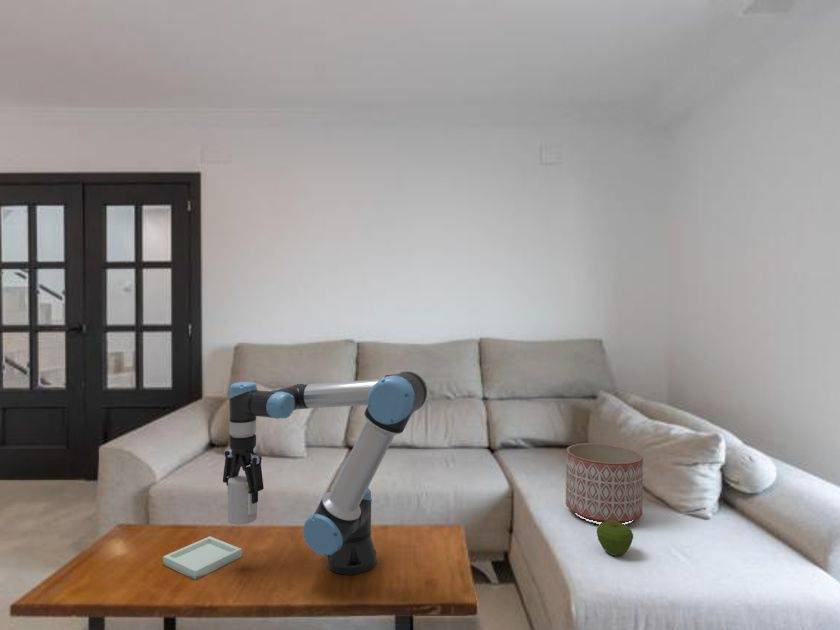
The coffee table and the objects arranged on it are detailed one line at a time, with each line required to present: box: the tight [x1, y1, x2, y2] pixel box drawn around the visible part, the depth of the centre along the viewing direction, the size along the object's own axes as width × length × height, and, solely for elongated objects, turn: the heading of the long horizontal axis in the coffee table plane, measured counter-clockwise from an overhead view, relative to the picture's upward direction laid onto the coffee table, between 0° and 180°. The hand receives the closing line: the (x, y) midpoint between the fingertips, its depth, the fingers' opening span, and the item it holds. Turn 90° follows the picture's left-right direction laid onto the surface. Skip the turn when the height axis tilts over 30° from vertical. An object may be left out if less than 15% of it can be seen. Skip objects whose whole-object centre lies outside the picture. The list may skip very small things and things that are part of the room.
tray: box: [162, 535, 243, 581], centre depth 155 cm, size 16×16×2 cm
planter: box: [565, 442, 644, 523], centre depth 192 cm, size 27×27×24 cm
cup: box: [227, 474, 258, 526], centre depth 151 cm, size 8×8×12 cm
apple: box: [596, 521, 634, 556], centre depth 161 cm, size 11×10×10 cm
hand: (242, 510), depth 151 cm, fingers closed on cup, 8 cm apart
